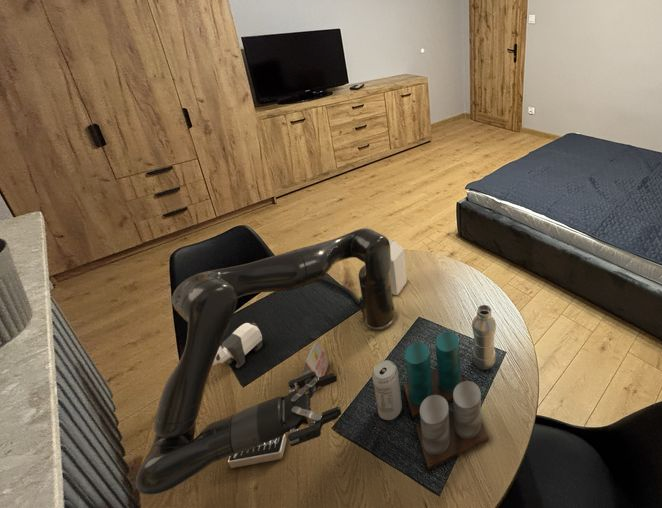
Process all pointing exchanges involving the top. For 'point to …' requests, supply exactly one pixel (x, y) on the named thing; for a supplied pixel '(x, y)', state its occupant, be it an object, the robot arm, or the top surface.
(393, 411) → the energy drink can
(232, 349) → the giant panda
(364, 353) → the top surface
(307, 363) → the pink white gabled box
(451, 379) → the can rack
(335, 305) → the top surface
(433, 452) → the tin rack
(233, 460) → the white black flat block
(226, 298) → the robot arm
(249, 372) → the top surface
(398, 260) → the milk carton
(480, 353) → the plastic bottle
